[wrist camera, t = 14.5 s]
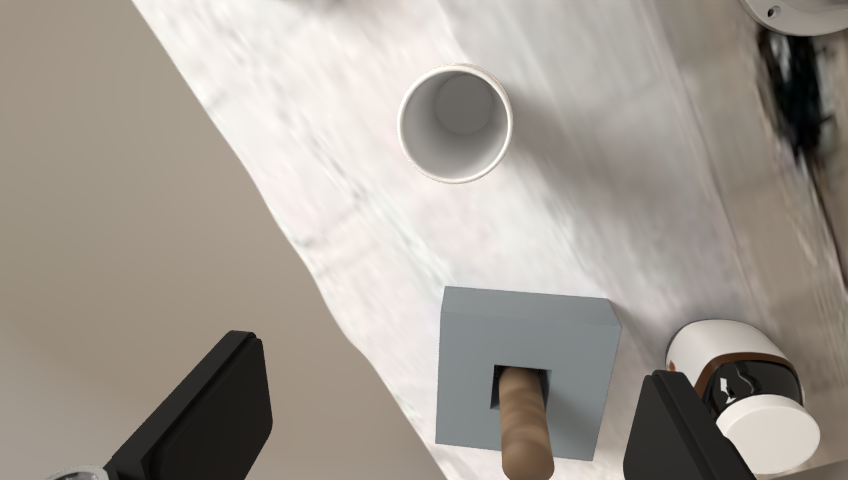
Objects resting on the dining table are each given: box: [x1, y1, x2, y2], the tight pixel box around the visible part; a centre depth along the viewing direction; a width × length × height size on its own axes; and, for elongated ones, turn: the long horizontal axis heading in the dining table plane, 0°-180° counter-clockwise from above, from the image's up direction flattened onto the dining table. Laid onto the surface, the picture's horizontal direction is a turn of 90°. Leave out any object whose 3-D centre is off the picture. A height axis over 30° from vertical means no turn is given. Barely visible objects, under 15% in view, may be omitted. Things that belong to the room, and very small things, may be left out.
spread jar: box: [665, 319, 820, 474], centre depth 40 cm, size 12×11×12 cm
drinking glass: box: [397, 63, 513, 184], centre depth 33 cm, size 7×7×15 cm
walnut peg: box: [498, 365, 554, 480], centre depth 42 cm, size 4×4×14 cm
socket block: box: [435, 286, 622, 461], centre depth 46 cm, size 16×16×5 cm
